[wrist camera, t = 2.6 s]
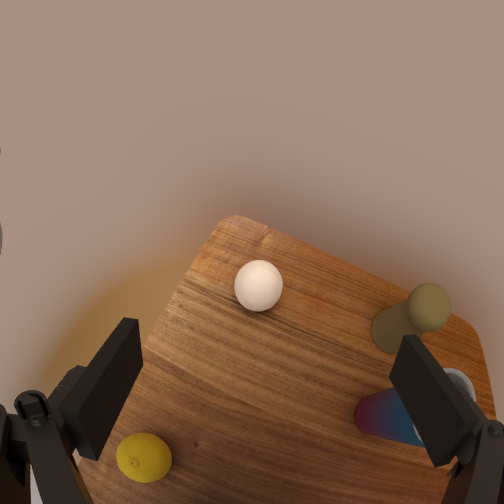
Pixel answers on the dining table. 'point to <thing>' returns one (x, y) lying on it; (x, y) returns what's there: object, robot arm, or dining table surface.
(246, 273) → the egg
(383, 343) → the cork
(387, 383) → the dining table surface
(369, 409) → the cup
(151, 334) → the dining table surface
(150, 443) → the lemon
